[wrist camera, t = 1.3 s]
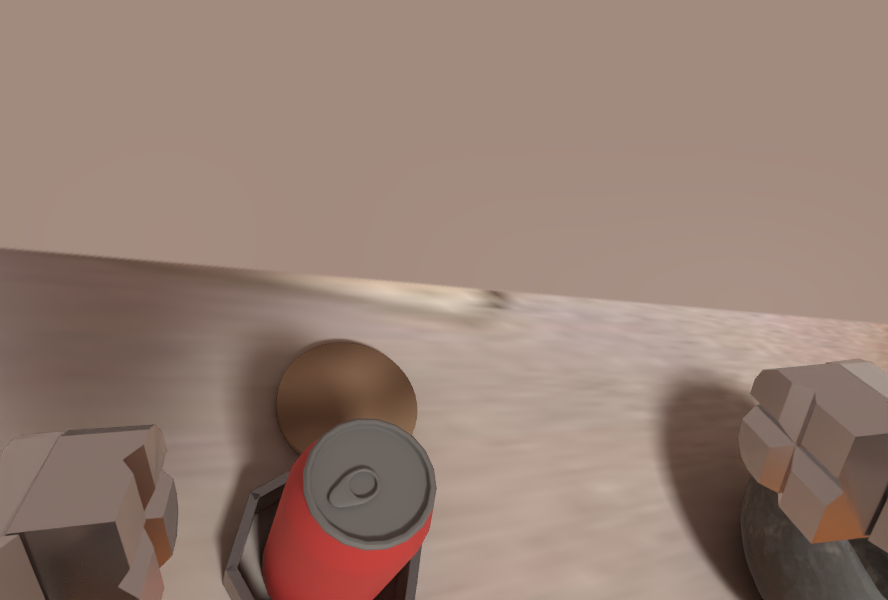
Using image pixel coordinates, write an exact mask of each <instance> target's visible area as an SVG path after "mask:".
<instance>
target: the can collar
mask: <svg viewBox="0 0 888 600" xmlns="http://www.w3.org/2000/svg"><path fill="white" fill-rule="evenodd" d="M289 473H290V471H288V472H286V473H284V474H282V475H281V476H279V477H277V478H275V479H273V480H272V481H270V482H268V483H266V484H264V485H262V486H261V487H259V488H257V489H255V490H253V491H252V492H250V495H249V499H248V502H247V505H246V508H245V511H244V514H243V517H242V520H241V523H240V526H239V529H238V532H237V535H236V538H235V542H234V545H233V548H232V551H231V554H230V557H229V560H228V563H227V566H226V569H225V573H224V578H223V585H224V587H225V589H226V591H227V592H228V594H229V596H230V598H231V600H254V598H253V596H252V594H251V592H250V590H249V589H248V587H247V585H246V583H245V581H244V579H243V578H242V576H241V574H240V572H239V570H238V566H239V563H240V560H241V556H242V553H243V550H244V547H245V544H246V540H247V537H248V534H249V531H250V528H251V524H252V521H253V518H254V515H255V514H256V513H258V512H260V511H261V510H263V509H265V508H267V507H268V506H270V505H272V504H274V503H275V502H277V501H279V500H280V499H281V496H282V493H283V490H284V487H285V484H286V481H287V479H288V476H289ZM421 547H422V544H421V546H420V548H419V550H418V552H417V553H416V554H415V555H414V556H413V557H412V558H411V559H410V560H409V561H408V562H407V564H406V565H405V566H404V567H403V568H402V569H401V570H400V571H399V574H398V581H397V587H396V594H395V600H415V594H416V586H417V578H418V571H419V563H420V555H421Z"/></svg>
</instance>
